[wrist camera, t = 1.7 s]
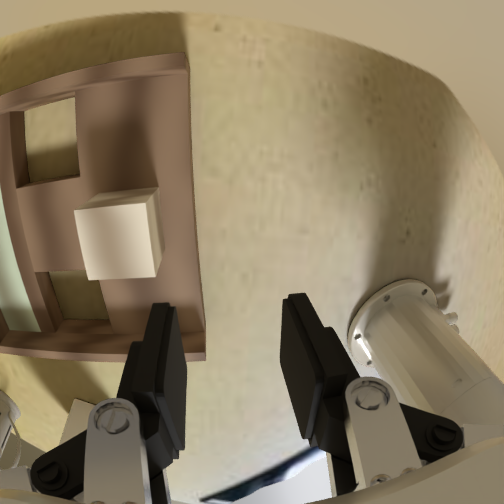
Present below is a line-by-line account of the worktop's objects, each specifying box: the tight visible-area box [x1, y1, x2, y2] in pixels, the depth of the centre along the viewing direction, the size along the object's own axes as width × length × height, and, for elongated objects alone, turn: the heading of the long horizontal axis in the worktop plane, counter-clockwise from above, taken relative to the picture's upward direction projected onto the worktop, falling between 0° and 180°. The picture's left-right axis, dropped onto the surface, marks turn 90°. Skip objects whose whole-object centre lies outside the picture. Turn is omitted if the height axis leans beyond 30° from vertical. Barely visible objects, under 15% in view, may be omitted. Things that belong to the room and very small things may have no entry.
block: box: [74, 187, 165, 280], centre depth 21 cm, size 5×5×5 cm
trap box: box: [0, 52, 206, 362], centre depth 22 cm, size 24×24×6 cm
